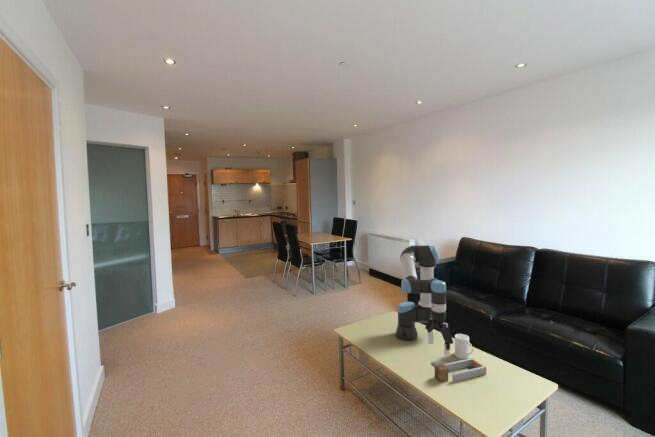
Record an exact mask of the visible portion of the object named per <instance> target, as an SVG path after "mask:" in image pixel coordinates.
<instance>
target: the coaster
mask: <svg viewBox="0 0 655 437" xmlns="http://www.w3.org/2000/svg"><path fill="white" fill-rule="evenodd" d="M442 363H443V364H448V363H447V362H446V361H444V360H443V359H442V360H437V361H432V362H430V364H431V365H433V366H434V367H435V365H436V364H442Z"/></svg>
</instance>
